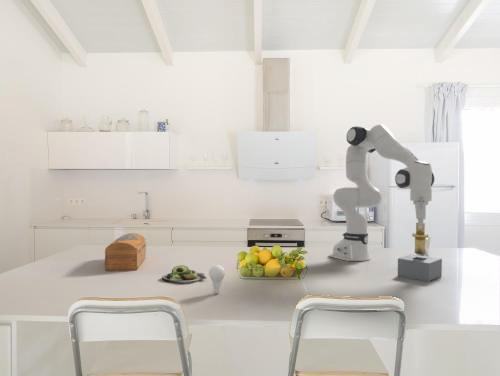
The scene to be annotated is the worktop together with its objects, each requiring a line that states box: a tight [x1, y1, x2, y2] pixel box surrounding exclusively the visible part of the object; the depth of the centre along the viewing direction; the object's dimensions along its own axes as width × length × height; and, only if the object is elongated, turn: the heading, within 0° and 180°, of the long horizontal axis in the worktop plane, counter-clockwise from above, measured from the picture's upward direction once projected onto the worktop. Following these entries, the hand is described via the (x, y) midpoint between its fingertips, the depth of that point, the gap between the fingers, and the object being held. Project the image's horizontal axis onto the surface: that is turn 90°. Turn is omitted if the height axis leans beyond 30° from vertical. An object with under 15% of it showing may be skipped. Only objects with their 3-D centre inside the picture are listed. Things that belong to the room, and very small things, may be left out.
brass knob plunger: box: [411, 222, 429, 255], centre depth 179 cm, size 7×7×14 cm
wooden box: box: [104, 232, 147, 272], centre depth 202 cm, size 30×16×14 cm, turn 6°
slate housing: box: [397, 253, 443, 282], centre depth 180 cm, size 14×14×8 cm
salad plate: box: [161, 265, 208, 285], centre depth 174 cm, size 19×18×5 cm
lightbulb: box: [208, 264, 226, 294], centre depth 151 cm, size 6×6×11 cm
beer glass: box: [415, 236, 432, 257], centre depth 196 cm, size 7×7×15 cm
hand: (420, 227), depth 179 cm, fingers open, 8 cm apart
